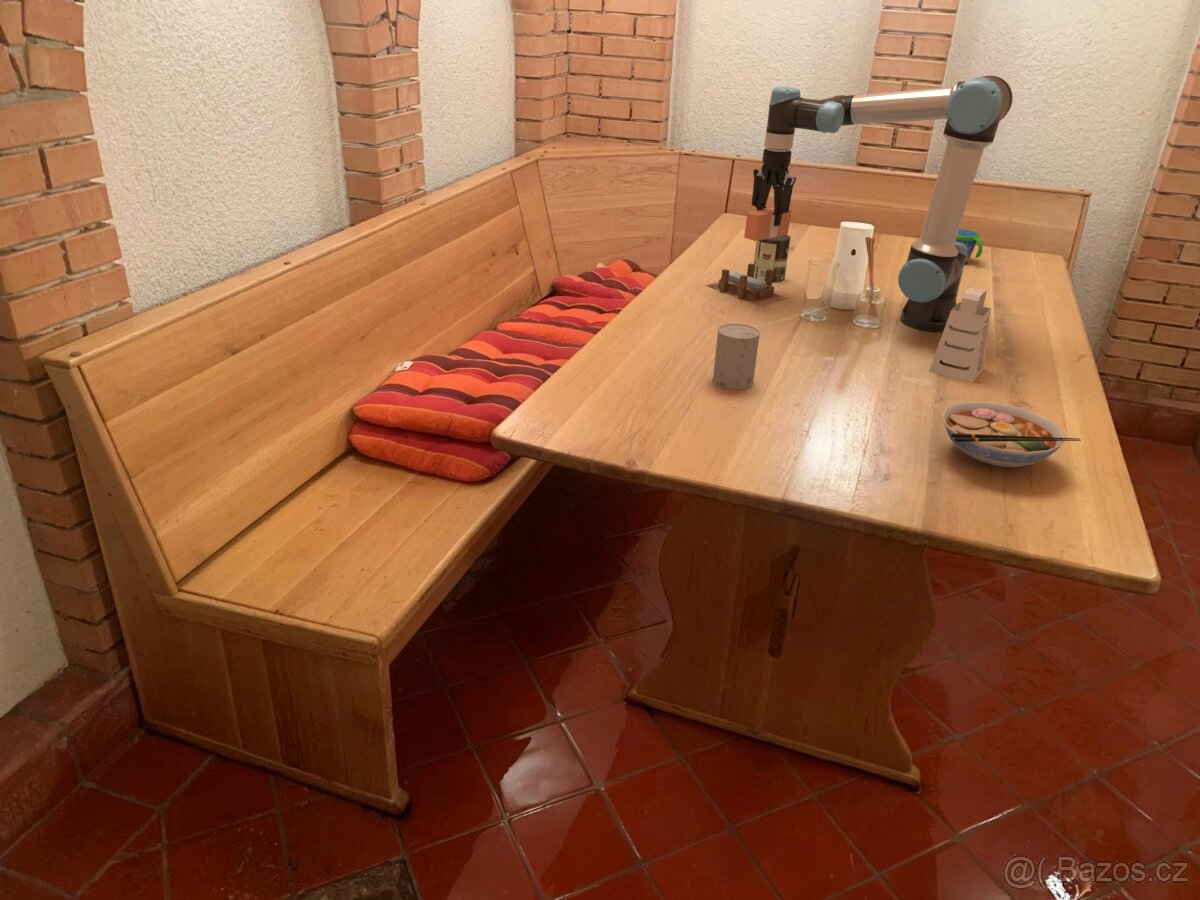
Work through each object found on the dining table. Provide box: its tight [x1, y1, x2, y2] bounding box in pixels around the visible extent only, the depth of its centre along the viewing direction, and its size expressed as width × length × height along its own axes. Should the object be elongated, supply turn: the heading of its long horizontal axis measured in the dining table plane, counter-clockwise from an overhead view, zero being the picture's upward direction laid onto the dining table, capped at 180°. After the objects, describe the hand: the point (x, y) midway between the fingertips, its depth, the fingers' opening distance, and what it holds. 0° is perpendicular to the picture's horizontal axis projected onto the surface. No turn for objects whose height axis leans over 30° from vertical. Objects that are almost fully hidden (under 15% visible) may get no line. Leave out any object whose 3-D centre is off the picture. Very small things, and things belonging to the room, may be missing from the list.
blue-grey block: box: [728, 272, 767, 291], centre depth 267 cm, size 12×4×4 cm, turn 39°
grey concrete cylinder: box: [712, 323, 761, 390], centre depth 209 cm, size 10×10×12 cm
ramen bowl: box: [941, 400, 1082, 468], centre depth 180 cm, size 25×23×8 cm
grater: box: [928, 286, 992, 383], centre depth 218 cm, size 10×10×20 cm
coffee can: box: [753, 234, 792, 283], centre depth 279 cm, size 10×10×14 cm
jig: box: [704, 262, 788, 306], centre depth 267 cm, size 22×13×8 cm, turn 39°
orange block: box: [743, 207, 792, 242], centre depth 254 cm, size 4×14×7 cm, turn 130°
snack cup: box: [956, 228, 983, 265], centre depth 308 cm, size 16×10×10 cm
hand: (766, 234), depth 256 cm, fingers closed on orange block, 4 cm apart
